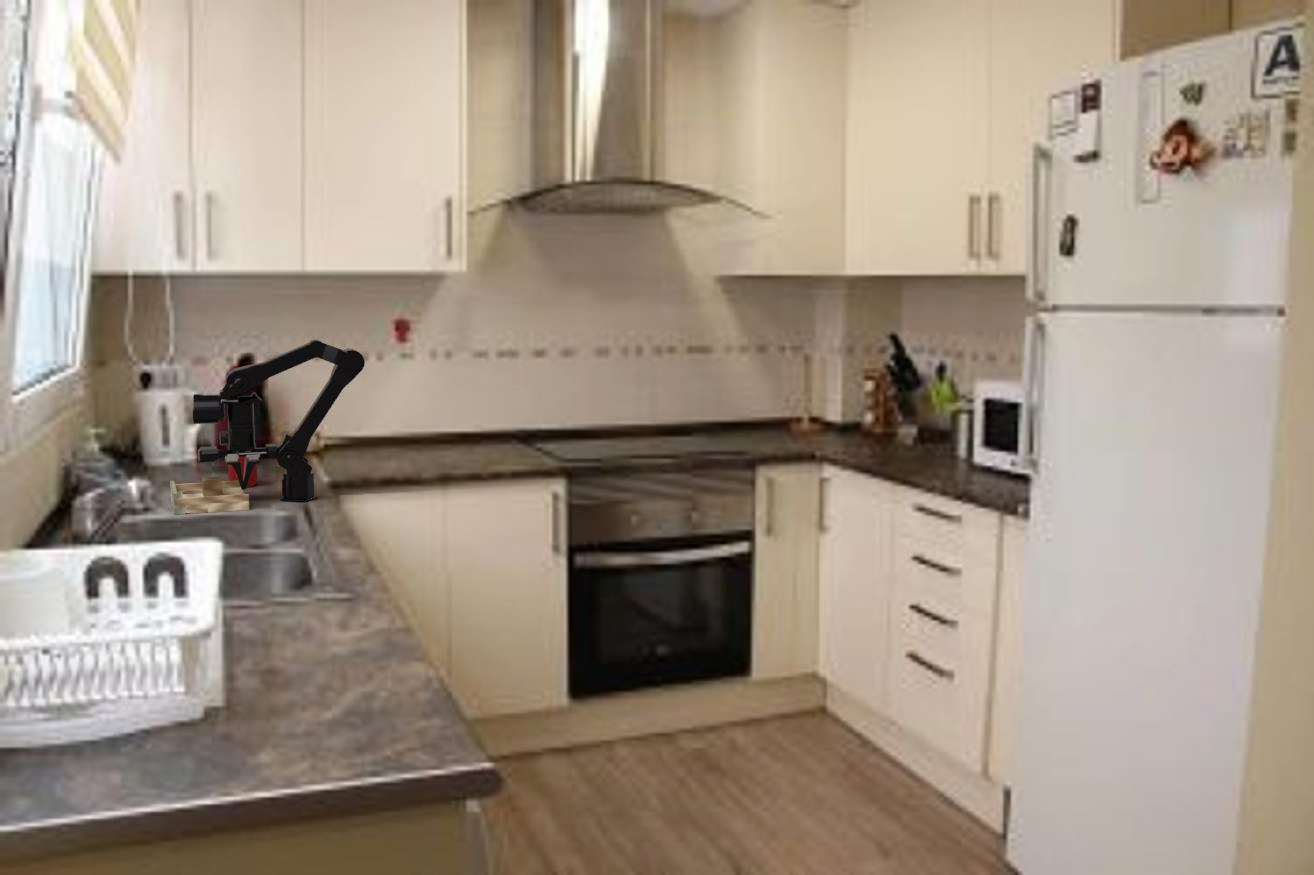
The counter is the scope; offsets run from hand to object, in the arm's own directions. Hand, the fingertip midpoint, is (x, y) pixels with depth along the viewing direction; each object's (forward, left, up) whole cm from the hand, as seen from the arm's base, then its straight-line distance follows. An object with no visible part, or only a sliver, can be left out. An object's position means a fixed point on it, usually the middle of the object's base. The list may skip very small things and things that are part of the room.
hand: (243, 489), depth 261 cm
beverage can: (+12, -19, -3) cm, 22 cm away
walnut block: (+5, +4, -1) cm, 7 cm away
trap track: (+6, +5, -3) cm, 8 cm away
